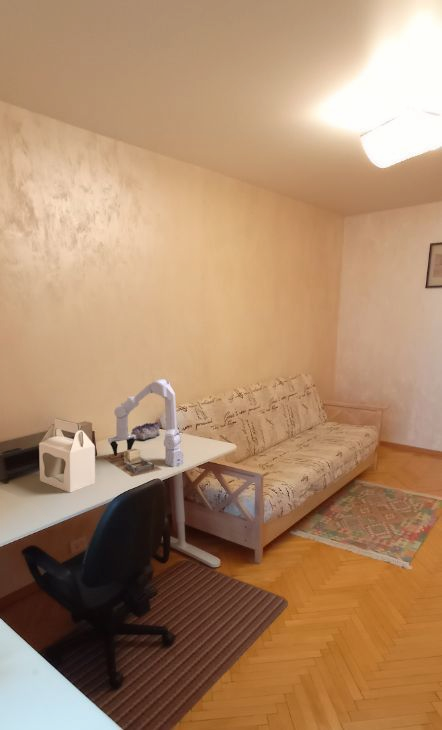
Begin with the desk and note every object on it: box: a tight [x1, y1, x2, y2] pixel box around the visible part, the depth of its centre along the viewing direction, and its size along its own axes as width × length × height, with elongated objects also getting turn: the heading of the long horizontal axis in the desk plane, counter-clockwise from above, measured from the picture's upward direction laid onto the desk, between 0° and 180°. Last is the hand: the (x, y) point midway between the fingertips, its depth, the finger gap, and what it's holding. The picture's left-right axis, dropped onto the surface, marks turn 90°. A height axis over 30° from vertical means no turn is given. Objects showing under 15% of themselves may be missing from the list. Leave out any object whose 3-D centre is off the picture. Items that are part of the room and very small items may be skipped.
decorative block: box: [67, 421, 93, 443], centre depth 211 cm, size 11×6×20 cm, turn 147°
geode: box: [130, 422, 161, 441], centre depth 259 cm, size 20×12×10 cm, turn 146°
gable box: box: [38, 418, 96, 493], centre depth 185 cm, size 22×13×28 cm, turn 56°
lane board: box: [103, 456, 163, 478], centre depth 209 cm, size 32×16×4 cm, turn 39°
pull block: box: [109, 448, 142, 464], centre depth 214 cm, size 16×12×6 cm
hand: (122, 454), depth 218 cm, fingers open, 7 cm apart
